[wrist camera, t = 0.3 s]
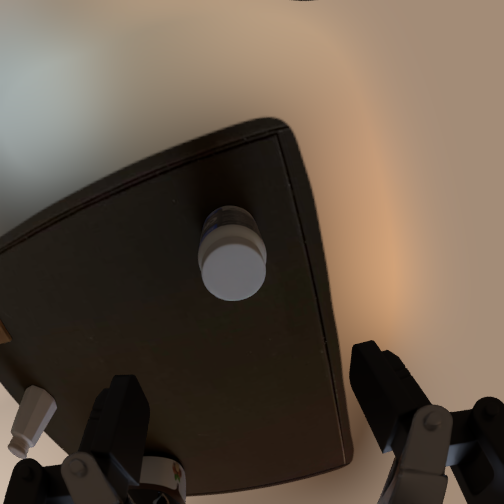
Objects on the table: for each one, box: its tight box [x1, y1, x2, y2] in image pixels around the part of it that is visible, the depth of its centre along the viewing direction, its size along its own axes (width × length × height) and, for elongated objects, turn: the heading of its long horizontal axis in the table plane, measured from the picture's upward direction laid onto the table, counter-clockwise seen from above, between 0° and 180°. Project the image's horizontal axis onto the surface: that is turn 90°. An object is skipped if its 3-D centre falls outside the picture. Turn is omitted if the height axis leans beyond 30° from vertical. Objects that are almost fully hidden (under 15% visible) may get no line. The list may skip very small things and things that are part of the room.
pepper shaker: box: [8, 385, 57, 459], centre depth 27 cm, size 5×5×11 cm
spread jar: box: [128, 452, 186, 504], centre depth 33 cm, size 12×11×12 cm
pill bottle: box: [198, 206, 266, 301], centre depth 23 cm, size 5×5×8 cm
